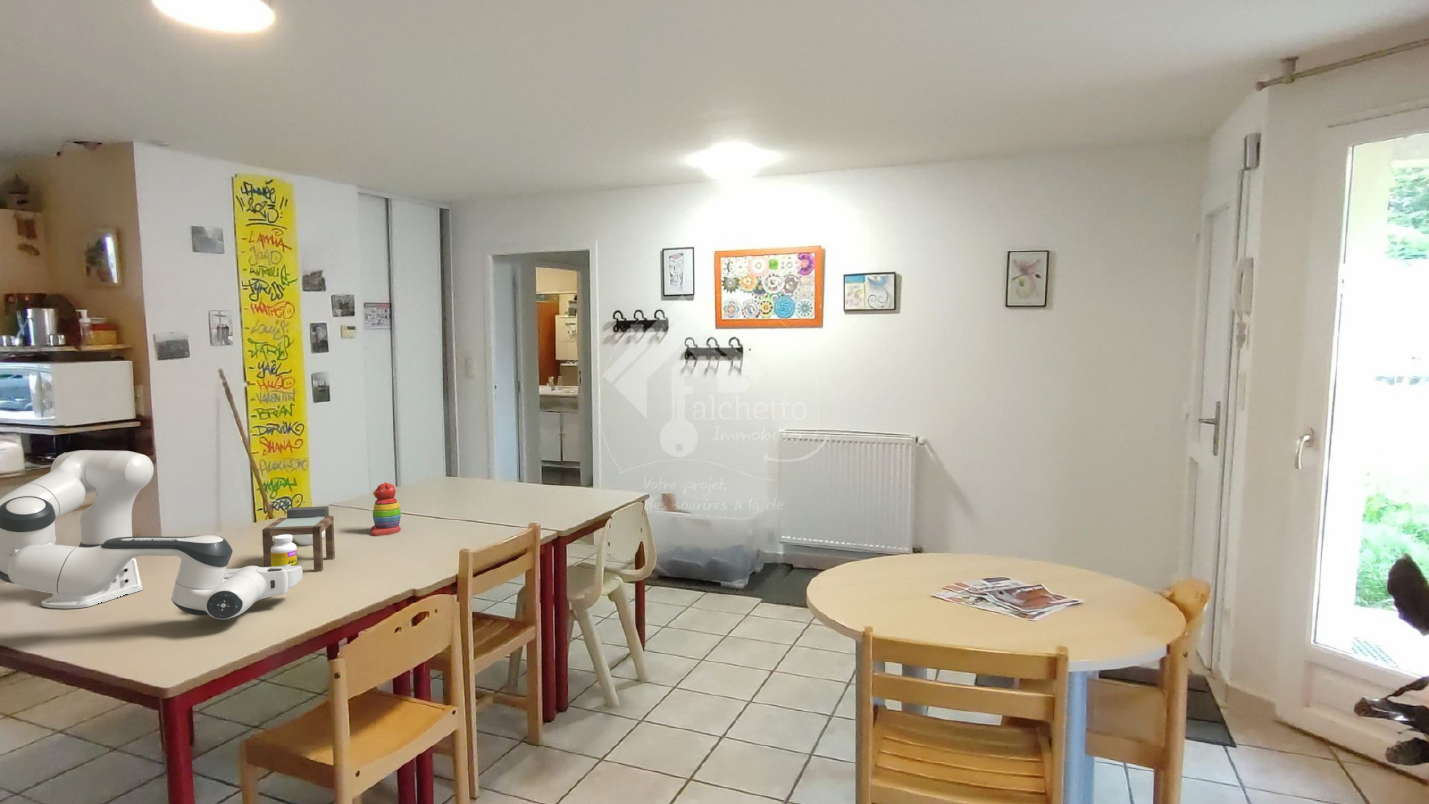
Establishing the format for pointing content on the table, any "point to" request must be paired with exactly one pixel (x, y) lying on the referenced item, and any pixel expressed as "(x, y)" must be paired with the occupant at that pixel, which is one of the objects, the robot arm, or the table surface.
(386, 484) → the stacking bear
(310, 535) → the lidded bowl
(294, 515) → the trapdoor
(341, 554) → the table surface
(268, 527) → the miniature wooden table
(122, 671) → the table surface
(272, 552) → the supplement bottle
